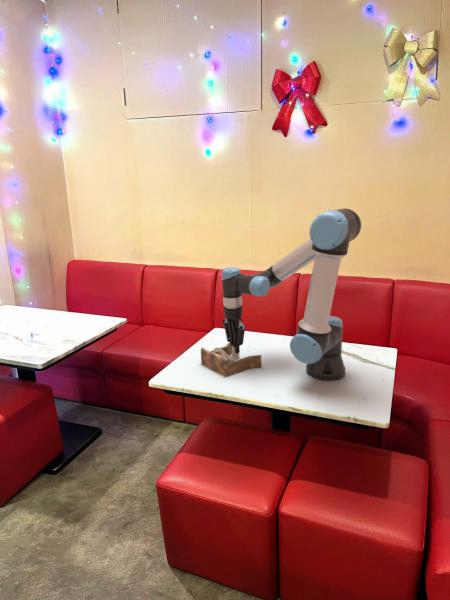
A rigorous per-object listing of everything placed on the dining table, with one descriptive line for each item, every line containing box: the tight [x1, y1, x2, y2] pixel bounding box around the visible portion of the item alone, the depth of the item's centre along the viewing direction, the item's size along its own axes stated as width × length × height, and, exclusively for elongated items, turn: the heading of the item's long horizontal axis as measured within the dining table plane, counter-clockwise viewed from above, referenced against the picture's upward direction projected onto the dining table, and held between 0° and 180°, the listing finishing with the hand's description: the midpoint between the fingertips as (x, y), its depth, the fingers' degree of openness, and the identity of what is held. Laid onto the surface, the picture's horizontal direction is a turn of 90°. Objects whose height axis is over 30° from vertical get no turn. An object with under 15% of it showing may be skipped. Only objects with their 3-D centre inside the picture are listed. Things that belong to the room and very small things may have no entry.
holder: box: [200, 342, 262, 378], centre depth 177 cm, size 21×18×8 cm
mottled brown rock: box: [212, 347, 236, 364], centre depth 177 cm, size 8×10×10 cm
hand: (235, 359), depth 179 cm, fingers closed, pressing on mottled brown rock
